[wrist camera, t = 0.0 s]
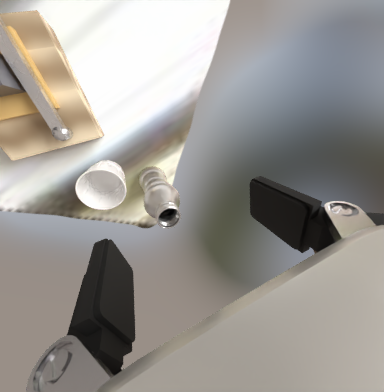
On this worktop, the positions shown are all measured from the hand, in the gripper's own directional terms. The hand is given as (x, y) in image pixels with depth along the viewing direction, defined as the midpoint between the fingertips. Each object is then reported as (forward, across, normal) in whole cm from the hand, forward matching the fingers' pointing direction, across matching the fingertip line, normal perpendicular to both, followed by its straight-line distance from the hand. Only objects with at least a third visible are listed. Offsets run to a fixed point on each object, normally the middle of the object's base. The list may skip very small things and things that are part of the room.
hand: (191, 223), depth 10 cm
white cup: (+31, +10, +3) cm, 33 cm away
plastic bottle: (+31, +1, +7) cm, 32 cm away
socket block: (+31, +14, -13) cm, 37 cm away
